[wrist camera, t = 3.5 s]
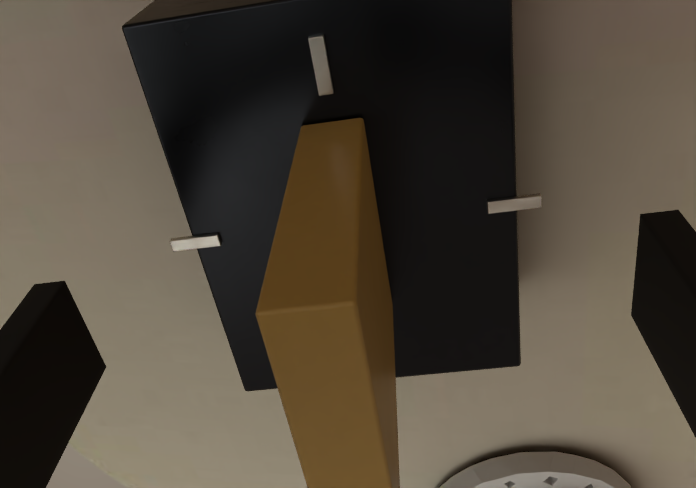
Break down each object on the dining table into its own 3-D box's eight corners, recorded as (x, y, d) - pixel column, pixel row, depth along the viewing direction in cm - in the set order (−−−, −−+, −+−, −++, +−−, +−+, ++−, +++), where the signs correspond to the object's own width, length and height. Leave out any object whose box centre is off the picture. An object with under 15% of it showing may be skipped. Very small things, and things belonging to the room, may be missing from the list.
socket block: (145, -8, 19) (92, 31, 15) (507, -68, 17) (541, -42, 14) (247, 317, 25) (226, 397, 21) (517, 289, 24) (541, 368, 20)
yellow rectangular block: (300, 125, 16) (250, 323, 10) (363, 116, 16) (356, 312, 10) (339, 311, 19) (322, 554, 13) (392, 305, 19) (402, 549, 13)
